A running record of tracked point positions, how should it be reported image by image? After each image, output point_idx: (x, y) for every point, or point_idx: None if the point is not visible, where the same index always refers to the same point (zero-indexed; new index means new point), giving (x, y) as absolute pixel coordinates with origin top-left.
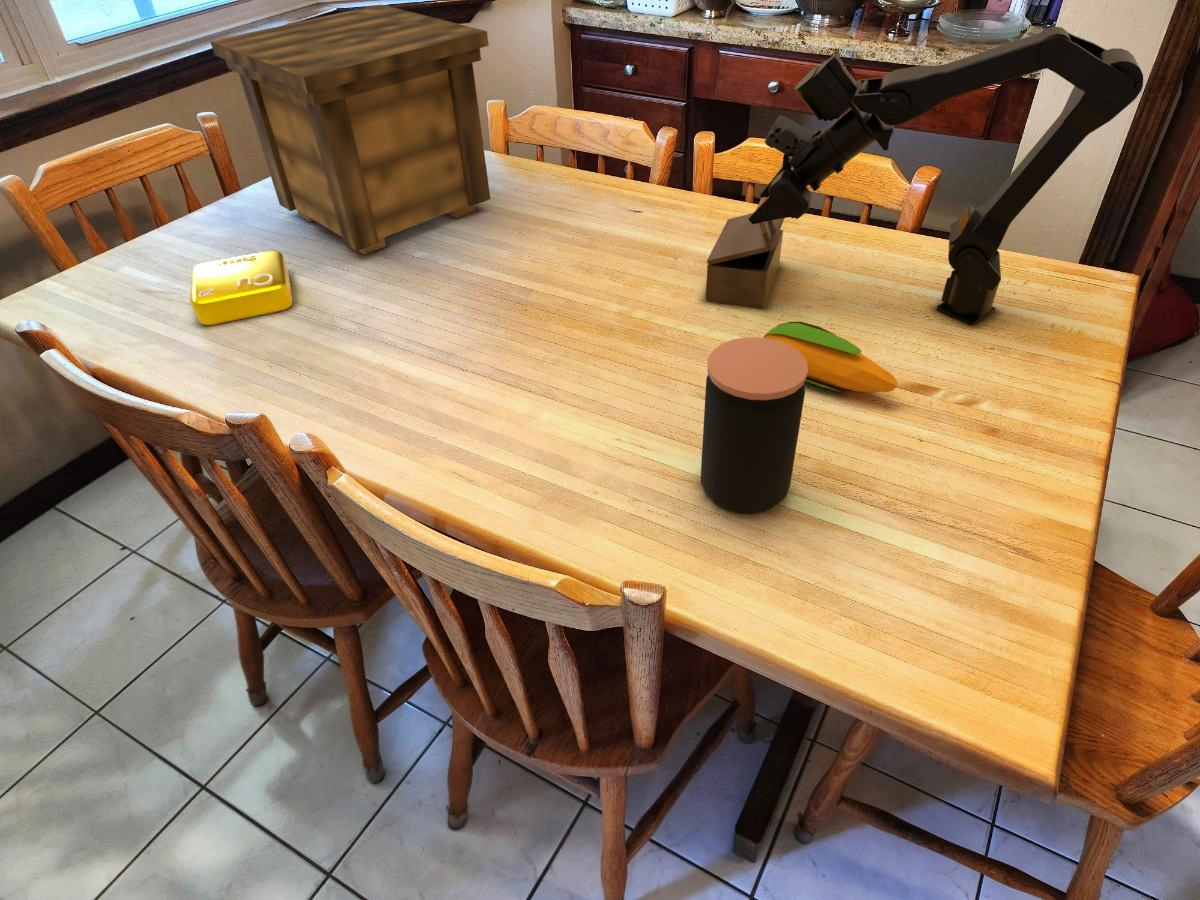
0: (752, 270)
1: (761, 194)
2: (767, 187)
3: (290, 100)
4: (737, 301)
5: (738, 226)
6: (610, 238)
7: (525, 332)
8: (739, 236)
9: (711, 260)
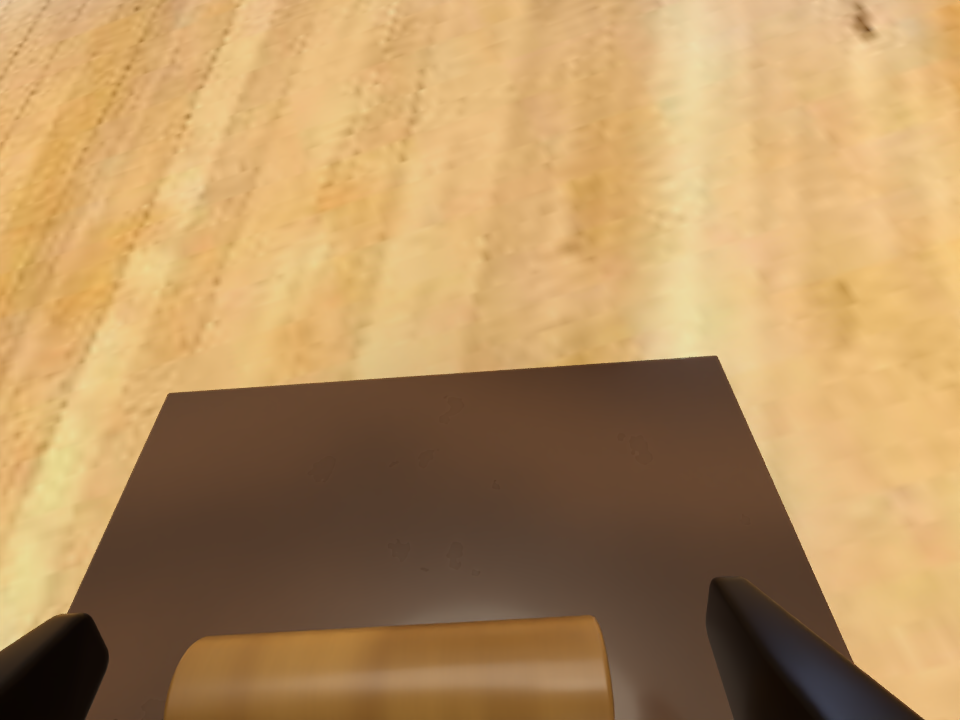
0: None
1: (717, 598)
2: (786, 687)
3: None
4: None
5: (570, 453)
6: (625, 26)
7: (26, 48)
8: (386, 506)
9: (158, 417)
